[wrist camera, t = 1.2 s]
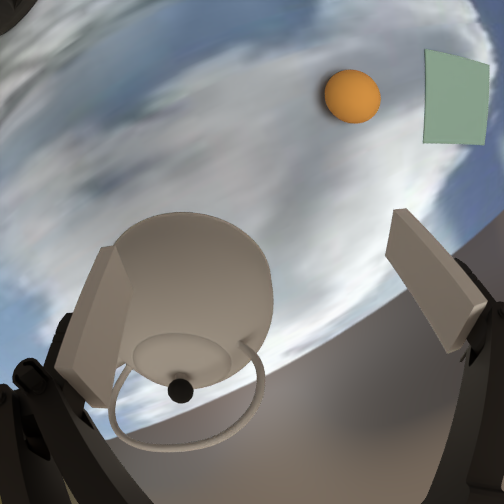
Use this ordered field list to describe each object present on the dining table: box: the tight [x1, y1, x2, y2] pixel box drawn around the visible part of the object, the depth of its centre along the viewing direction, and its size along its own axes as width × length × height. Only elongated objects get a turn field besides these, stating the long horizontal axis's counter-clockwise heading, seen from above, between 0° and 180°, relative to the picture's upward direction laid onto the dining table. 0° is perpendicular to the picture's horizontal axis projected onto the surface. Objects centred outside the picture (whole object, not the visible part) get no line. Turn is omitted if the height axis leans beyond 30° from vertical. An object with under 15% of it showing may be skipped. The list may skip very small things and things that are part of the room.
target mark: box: [423, 49, 489, 145], centre depth 28 cm, size 12×12×1 cm
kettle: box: [108, 212, 273, 452], centre depth 31 cm, size 25×23×23 cm
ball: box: [325, 70, 381, 123], centre depth 25 cm, size 6×6×6 cm
